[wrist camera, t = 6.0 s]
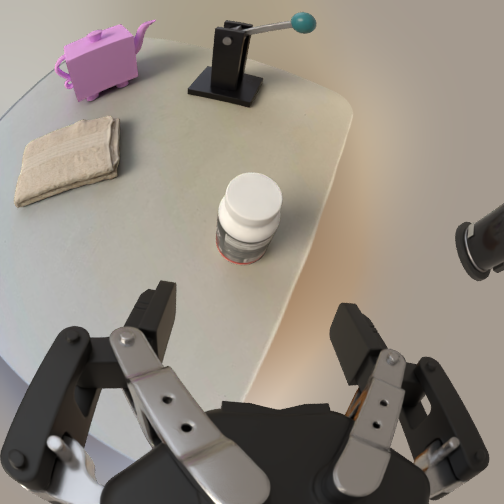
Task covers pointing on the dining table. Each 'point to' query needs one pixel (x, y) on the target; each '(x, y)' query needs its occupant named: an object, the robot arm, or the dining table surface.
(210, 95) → the bracket
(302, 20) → the lever with teal knob
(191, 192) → the dining table surface
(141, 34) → the teapot
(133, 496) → the robot arm
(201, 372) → the dining table surface
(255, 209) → the pill bottle
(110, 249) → the dining table surface
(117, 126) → the washcloth
